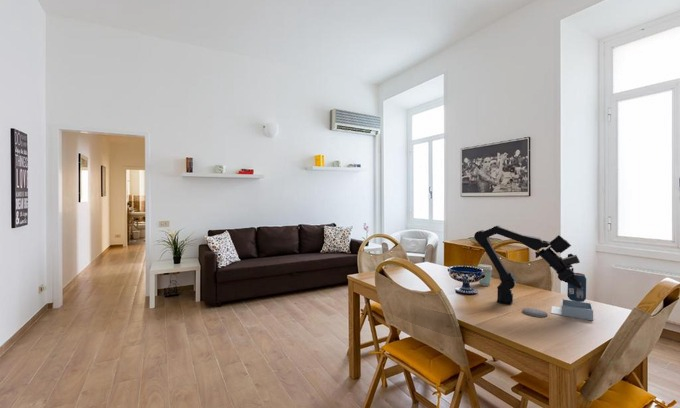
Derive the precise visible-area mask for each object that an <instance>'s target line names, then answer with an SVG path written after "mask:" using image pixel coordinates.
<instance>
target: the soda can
mask: <svg viewBox="0 0 680 408" xmlns="http://www.w3.org/2000/svg"><path fill="white" fill-rule="evenodd" d="M574 277H575V279H576V280H577V281H578V283H579V284H580V285H581V287H582V288H577V287H575V286H573V285H571V284H569V283H567V298H568V300H572V301H577V302H585V301H586V299H587V277H586V275H585V274H583V273H579V272H574Z"/></svg>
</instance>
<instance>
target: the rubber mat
mask: <svg viewBox="0 0 680 408" xmlns="http://www.w3.org/2000/svg"><path fill="white" fill-rule="evenodd" d="M522 313H523V314H524V315H527V316H531V317H534V318H547V317H548V313H547V311H544V310H541V309H537V308H528V307H527V308H523V309H522Z"/></svg>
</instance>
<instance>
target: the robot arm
mask: <svg viewBox="0 0 680 408" xmlns="http://www.w3.org/2000/svg"><path fill="white" fill-rule="evenodd" d="M494 235H499V236H501V237H504V238H507V239H510V240H513V241H515V242H519V243H521V244H523V245H524V246H526V247H527V248H529V249H530V250H531V249H532V250H533V251H535V252H534V253H535V259H537V258H539V257H540V258H541V259H543V260H544V261H545V262H546V263H547V264H548V266H549V267H550V268H552V269H553V270H554V272H556V274H557V278H558V280H559V281H561V282H564V283H567V284H568V283H569V284H571V285H573V286H575V287H577V288H582V287H581V285H580V284H579V283H578V281H577V280H576V279H575V277H574V273H575V271H574V270H575V268H574V267H573V265H574V264H575V265H576V264H579V263H580V259H579V257H578V256H577V254H573V253H568V254H567V256H566V257H565V258H563V257H562V256H559V255H557V254H562V253H564V252H565V251H566V250H567V249H569V248H570V247H572V245H571V243H570V242H568V240H566V239H564V237H562V236H561V235H560V234H558V235H556V236H555V237H554V238H553V239H552V240H551V241H547V240H543V239H542V238H541V237H537V236H531V235H526V234H522V233H519V232H516V231H513V230H510V229H508V228H505V227H502V226H501V225H495V226H493V227H491V228H488V229H486V230H484V229H483V230H482V229H481V230H478V231H476V232H475V233H474V235H473V237H474V240H475V241H476V242H477V244H479V246H480V247H481V248H483V250H484V252H485V253H486V254H487V256H488V257H489V260H490V261H491V263H492V264H493V266H494V268H495V270H496V271H497V273H498V277H499V280H500V283H499V284H498V285H497V287H496V288H497V295H496V296H497V298H496V299H497V301H496V303H498V304H503V305H504V304H505V305H512V303H513V302H514V293H513V291H512V290H513V288H515V286H516V284H517V277H516V276H515V274H514V273H513V271H512V270H510V271H509V270H507V268H506V267H505V265H504V263H503V262H502V259H500V256H499V255H498V254H497V252H496V251H495V248H494V247H493V245H492V242H491V238H490V237H492V236H494Z"/></svg>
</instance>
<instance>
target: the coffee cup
mask: <svg viewBox="0 0 680 408" xmlns="http://www.w3.org/2000/svg"><path fill="white" fill-rule="evenodd" d="M478 267H479V268H481V269H483V271H484V272H485V277H484V278H483V279H482V280H480V281H479V280H478V282H479V286H482V285H483V287H490V286H491V281H492V279H491V278H492V272H493V271H492V270H493V266H492V265H491V264H485V263H484V264H483V263H481V264H480V263H479V264H478V265H477V268H478Z"/></svg>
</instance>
